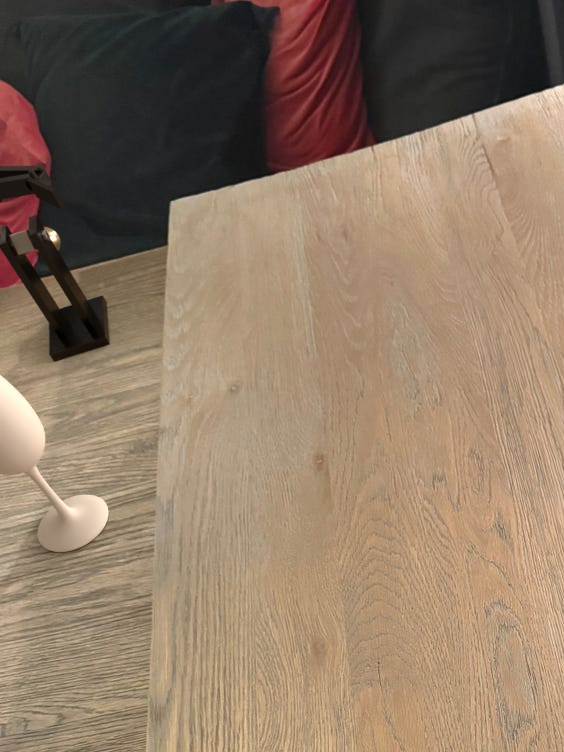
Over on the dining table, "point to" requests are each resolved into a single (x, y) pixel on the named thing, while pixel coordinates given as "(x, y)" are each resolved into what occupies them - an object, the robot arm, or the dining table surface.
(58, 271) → the bracket
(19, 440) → the wineglass
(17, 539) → the dining table surface
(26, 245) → the lever
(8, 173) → the robot arm
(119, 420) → the dining table surface
